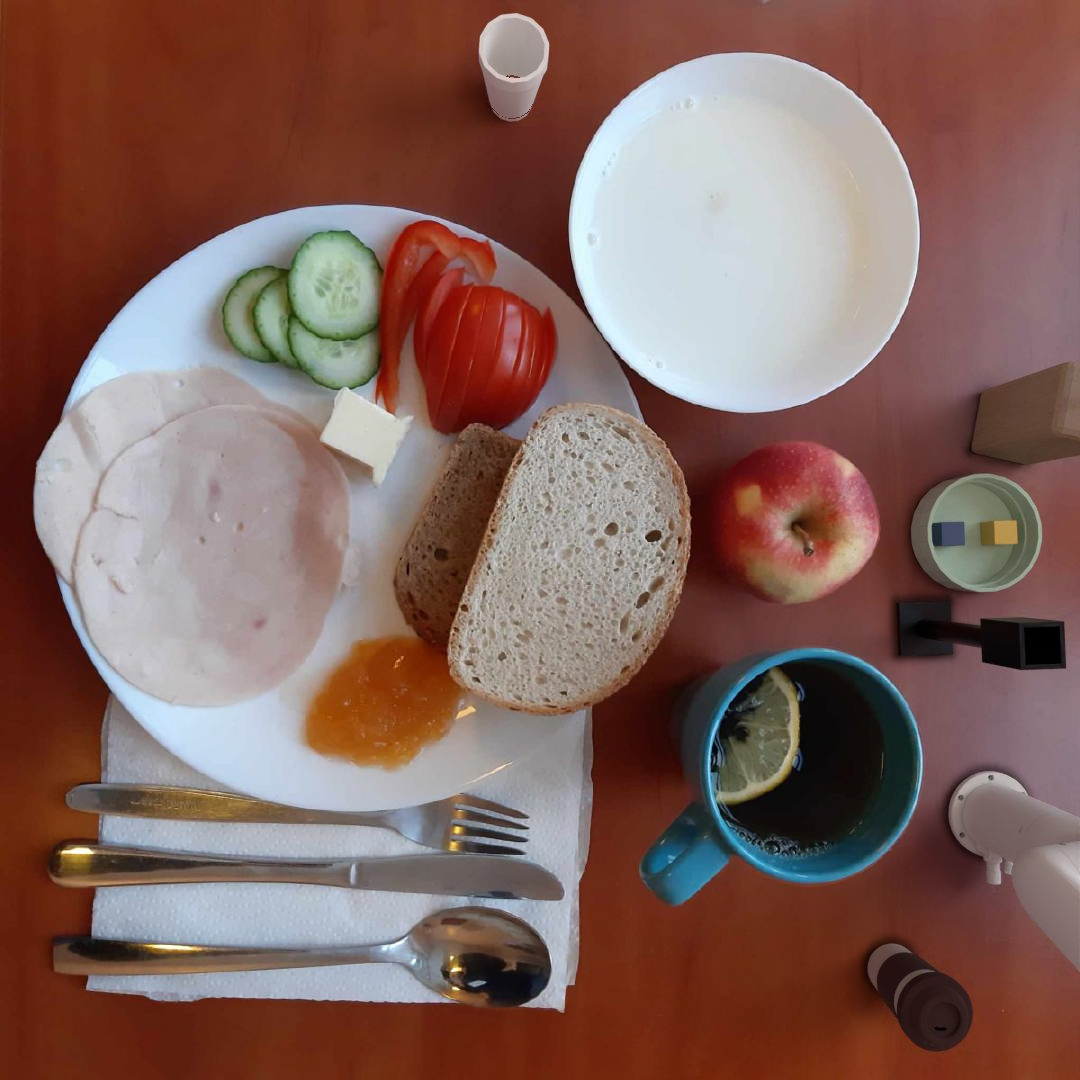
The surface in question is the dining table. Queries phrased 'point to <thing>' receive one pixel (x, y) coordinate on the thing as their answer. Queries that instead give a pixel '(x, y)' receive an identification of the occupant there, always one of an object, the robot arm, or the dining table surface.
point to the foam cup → (513, 63)
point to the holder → (981, 636)
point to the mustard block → (999, 532)
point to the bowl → (977, 533)
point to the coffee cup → (921, 998)
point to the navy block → (948, 534)
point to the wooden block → (1031, 417)
